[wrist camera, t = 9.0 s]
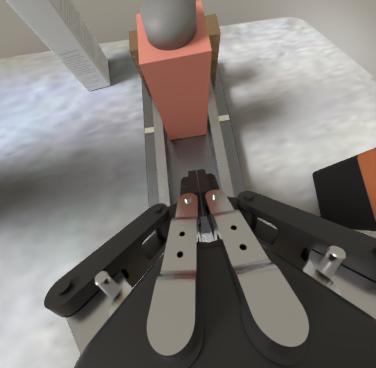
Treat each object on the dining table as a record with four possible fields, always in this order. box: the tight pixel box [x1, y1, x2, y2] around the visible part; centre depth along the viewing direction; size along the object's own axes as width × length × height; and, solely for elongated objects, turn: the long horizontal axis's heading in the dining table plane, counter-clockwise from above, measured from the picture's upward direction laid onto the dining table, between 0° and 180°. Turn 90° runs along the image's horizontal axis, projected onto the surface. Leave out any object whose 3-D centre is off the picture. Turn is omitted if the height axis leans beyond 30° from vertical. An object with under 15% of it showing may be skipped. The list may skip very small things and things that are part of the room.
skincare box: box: [6, 0, 110, 91], centre depth 20 cm, size 6×4×12 cm
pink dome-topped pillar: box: [136, 0, 212, 140], centre depth 15 cm, size 5×5×11 cm
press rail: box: [129, 14, 245, 237], centre depth 17 cm, size 26×12×8 cm, turn 7°
